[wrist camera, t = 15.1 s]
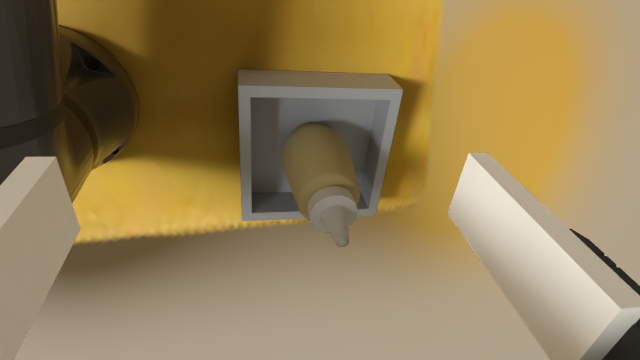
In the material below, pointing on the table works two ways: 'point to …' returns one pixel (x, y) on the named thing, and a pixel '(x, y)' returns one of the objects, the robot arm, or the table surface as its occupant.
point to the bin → (311, 106)
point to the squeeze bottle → (322, 179)
